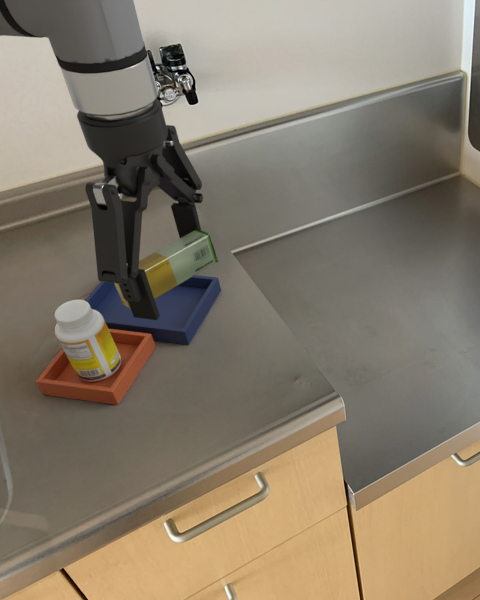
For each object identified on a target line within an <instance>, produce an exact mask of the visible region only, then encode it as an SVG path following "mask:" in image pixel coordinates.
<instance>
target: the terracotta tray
mask: <svg viewBox="0 0 480 600" xmlns="http://www.w3.org/2000/svg"><path fill="white" fill-rule="evenodd" d="M109 332H110V334H111V336H112V338H113V340H114V343H115V345H116V347H117V349H118V352H119V354H120V356H121V365H120V367H119V369H118V370H117V371H116V372H115V373H114V374H113V375H112V376H110V377H108V378H106V379H104V380H101V381H96V382H88V381H84V380H82V379H80V378H79V377H78V376H77V374H76V372H75V370H74V368H73V367H72V365H71V363H70V361H69V359H68V357H67V355H66V354H65V352H64V350H63V348H62V347H61V348H60V351H58V353H57V354H56V355H55V357H54V358H53V359H52V360H51V361H50V362H49V364H48V365H47V366H46V368H45V369H44V370H43V372H41V374H40V375H39V376H38V378H37V379H36V380H35V383H36V385H37V386H38V388H39V390H40V392H41V393H42V395H44V396H51V397H59V398H65V399H66V398H67V399H73V400H81V401H87V402H95V403H100V404H101V403H103V404H109V405H117V406H118V405H120V403H121V401H122V400H123V399H124V397H125V395H126V394H127V393H128V391H129V390H130V388H131V386H132V385H133V383H134V382H135V380H136V379H137V377H138V376H139V374H140V373H141V371H142V370H143V368H144V366H145V365H146V363H147V361H149V358H150V357H151V355H153V352H154V351H155V349H156V347H157V345H156V343H155V341H154V340H153V337H152V335H151V334H148V333H140V332H132V331H123V330H115V329H109Z"/></svg>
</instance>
